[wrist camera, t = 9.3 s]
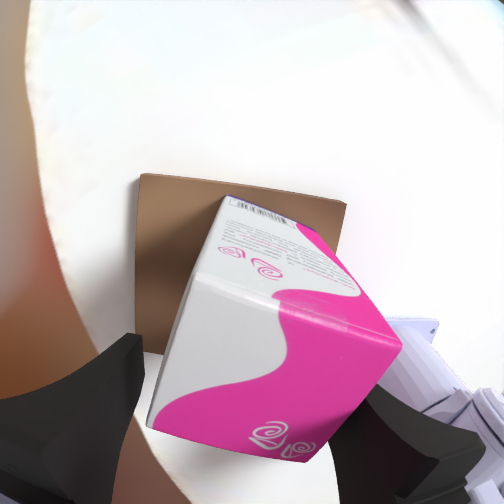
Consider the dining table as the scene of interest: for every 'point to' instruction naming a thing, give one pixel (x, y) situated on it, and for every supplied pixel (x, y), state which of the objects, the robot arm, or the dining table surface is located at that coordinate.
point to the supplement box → (268, 341)
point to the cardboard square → (199, 239)
